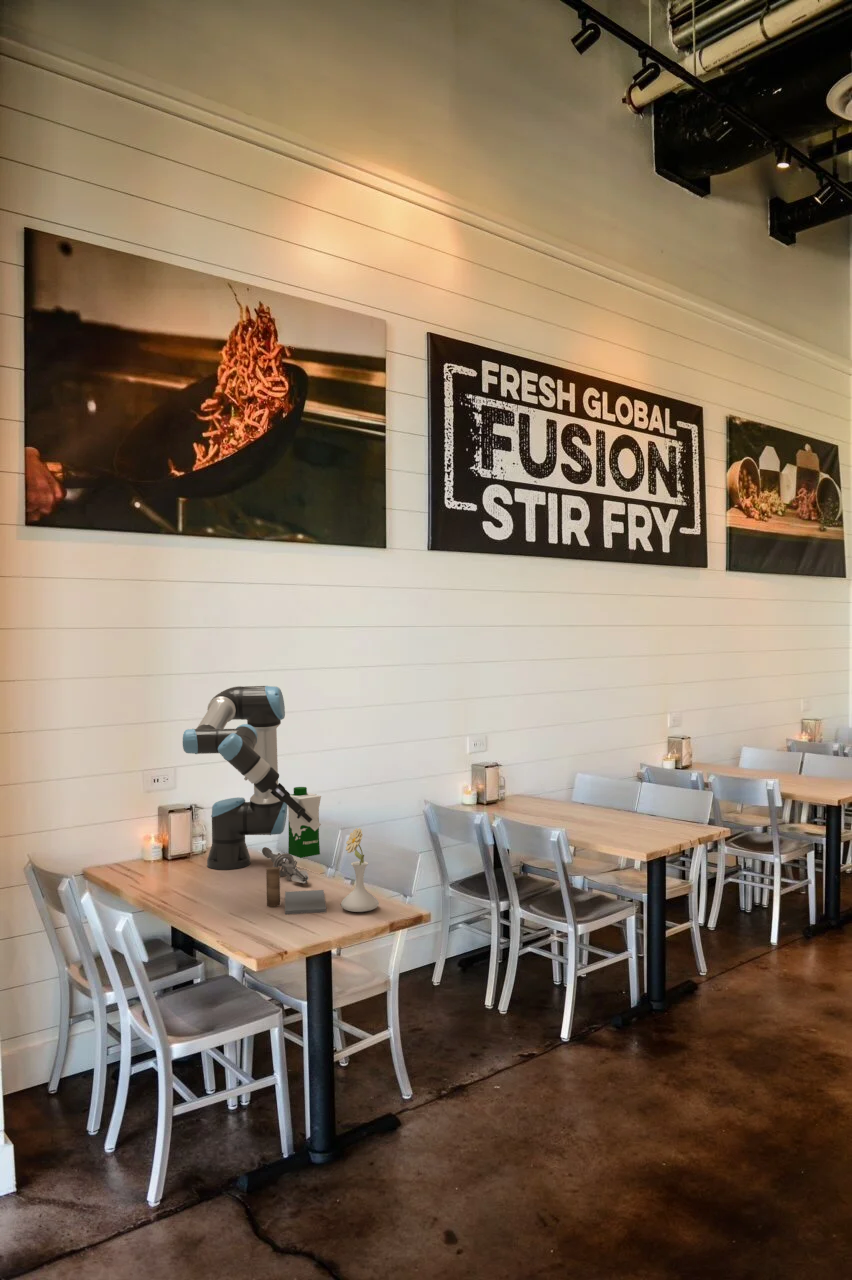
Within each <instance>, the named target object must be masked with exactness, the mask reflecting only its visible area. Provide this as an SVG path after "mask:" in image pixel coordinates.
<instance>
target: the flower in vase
mask: <svg viewBox="0 0 852 1280" xmlns="http://www.w3.org/2000/svg"><path fill="white" fill-rule="evenodd" d="M363 834H364V833H363V831H362V829H361V827H358V828H355V829H353V832H350V833H349V837H348V839H347V841H346V842H345V843H346V846H345V851H347V854H352V853H354V856H355V857H356V858H357V859H358V861H353V862H351V863H350V864H351V866H352V867H353V869H354V873H355V887H354V889H353V890H352V891H351V892H350V893H348V894H347V895H346V896H345V897H344V898H343V899H342V901H341V903H340V907H341V908H342V909H343V910H345V911H349V912H355V913H356V912H357V913H364V912H370V911H373V910H375V909H376V908H378V907H379V904H380V901H379V900H378V898H377V897H375V896H374V895H373V894H372V893H371V892H369V891H368V890H367V889H366V887H365V884H364V882H365V881H364V879H365V878H364V876H365V872H366V871H365V870H366V868H367V866H368V865H369V862H367V861H365V860H364V857H365V854H363V850H362V847H361V843H362V839H363ZM357 848H359V850H360V852H359V851H358V850H357ZM359 860H360V861H359Z"/></svg>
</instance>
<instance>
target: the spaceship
mask: <svg viewBox="0 0 852 1280" xmlns="http://www.w3.org/2000/svg"><path fill="white" fill-rule="evenodd" d="M261 852H262V855H263V856H264V857H265V858H267V859H270V860H271V862H272V864H273V865H272V867H278V868H280V877H284V876H285V880H287V881H288V882H290V881H292V882H297V883H301V884H302V885H303V884H304V885H308V881H309V880H310V876H309V874H308V870H303V869H301V868H300V867H297V865H298V861H296V860H295V858H294V856H293V855H291V854H288V852H285V853H281V852H278V853H277V854H275V853H273V852H272V849H270V848H269V847H266V846H265V847H263V848H262V849H261Z"/></svg>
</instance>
